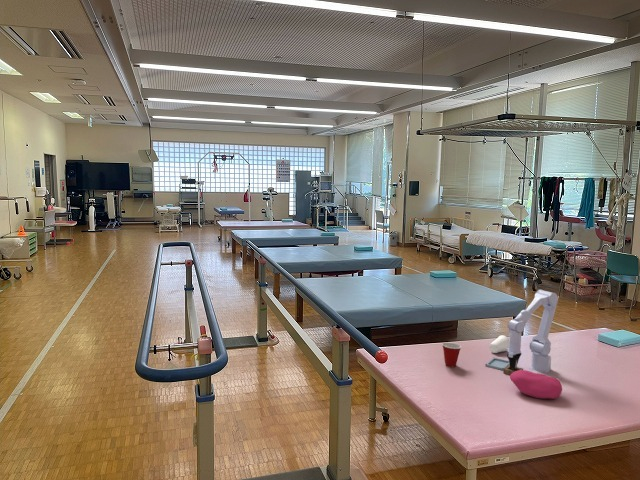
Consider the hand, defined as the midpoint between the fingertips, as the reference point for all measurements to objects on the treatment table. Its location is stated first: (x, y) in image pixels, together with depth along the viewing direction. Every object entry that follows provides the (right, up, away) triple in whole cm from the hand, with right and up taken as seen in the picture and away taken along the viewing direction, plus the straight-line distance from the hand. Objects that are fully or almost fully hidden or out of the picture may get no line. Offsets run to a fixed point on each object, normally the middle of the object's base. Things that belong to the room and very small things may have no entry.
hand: (513, 366), depth 252 cm
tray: (-4, -3, +12) cm, 13 cm away
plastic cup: (-31, -3, +12) cm, 33 cm away
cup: (0, +3, +31) cm, 31 cm away
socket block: (0, -4, 0) cm, 4 cm away
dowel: (0, -3, 0) cm, 3 cm away
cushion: (+1, -7, -24) cm, 25 cm away
